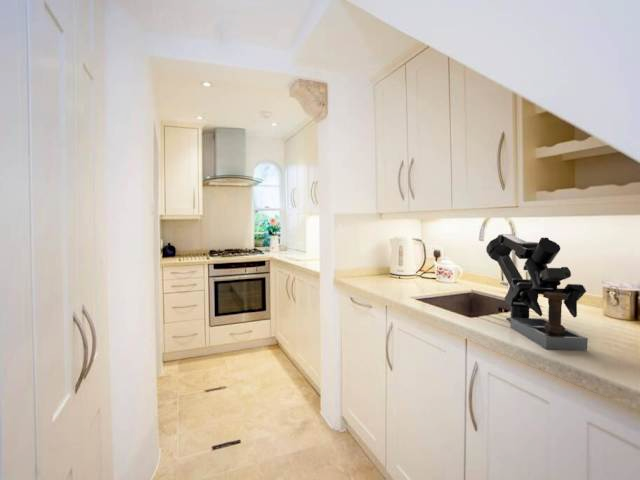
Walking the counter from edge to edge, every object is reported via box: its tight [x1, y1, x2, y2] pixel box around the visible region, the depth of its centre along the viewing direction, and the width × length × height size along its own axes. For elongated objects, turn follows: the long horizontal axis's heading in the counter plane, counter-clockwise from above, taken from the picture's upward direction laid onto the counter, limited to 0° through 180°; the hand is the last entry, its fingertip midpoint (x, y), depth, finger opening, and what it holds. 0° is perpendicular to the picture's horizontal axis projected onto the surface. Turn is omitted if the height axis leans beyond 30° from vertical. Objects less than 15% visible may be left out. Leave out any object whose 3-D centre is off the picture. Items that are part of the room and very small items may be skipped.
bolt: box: [542, 292, 567, 336], centre depth 97 cm, size 6×5×15 cm
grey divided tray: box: [510, 317, 589, 352], centre depth 101 cm, size 20×11×4 cm, turn 175°
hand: (558, 316), depth 95 cm, fingers open, 9 cm apart
